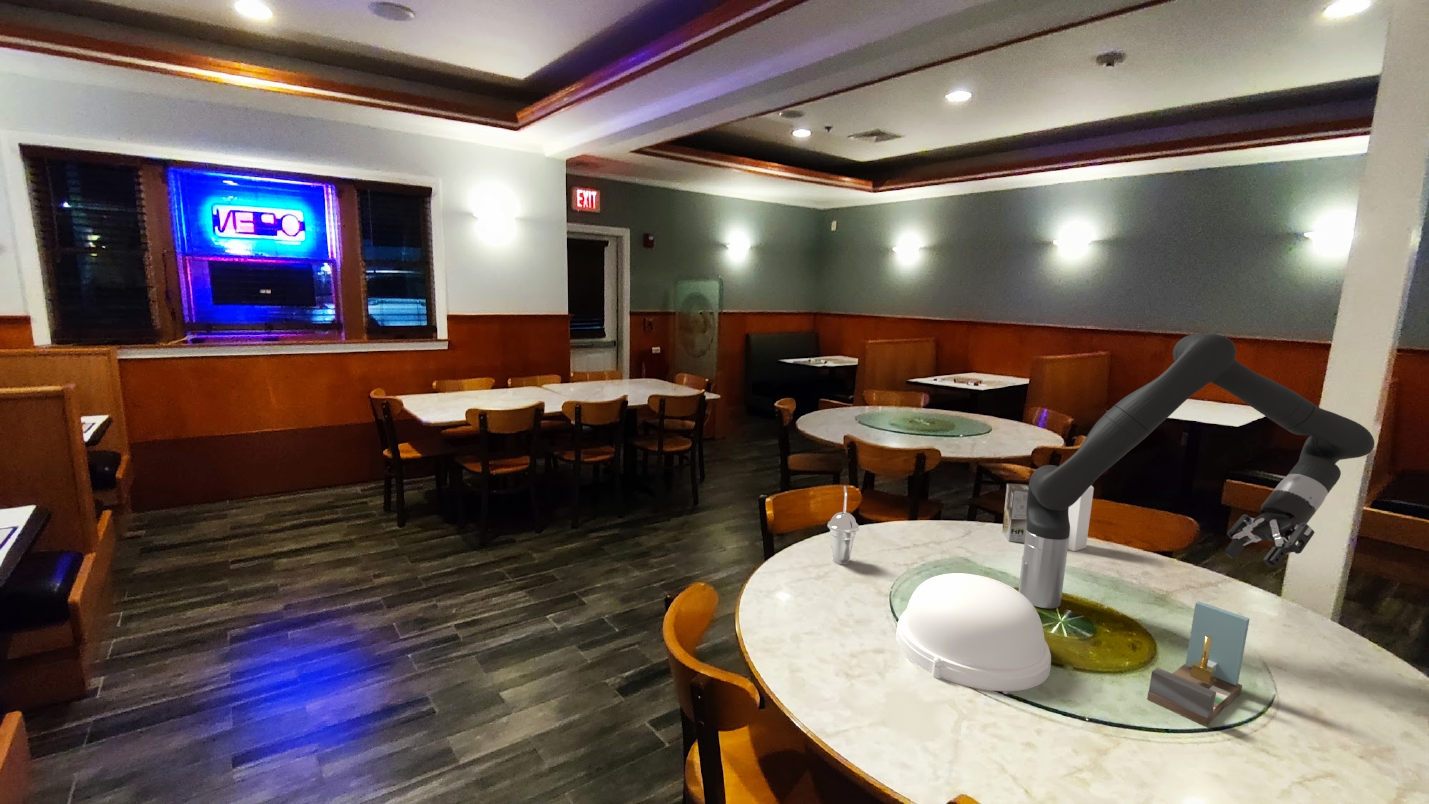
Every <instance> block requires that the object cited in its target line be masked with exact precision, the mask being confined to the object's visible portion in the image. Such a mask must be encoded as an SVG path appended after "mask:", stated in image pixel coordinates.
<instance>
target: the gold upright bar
mask: <svg viewBox="0 0 1429 804" xmlns="http://www.w3.org/2000/svg"><path fill="white" fill-rule="evenodd" d="M1211 641H1212V637H1211V636H1207V635H1206V636H1205V640H1204V646H1203V652H1202V658H1201V663H1199V662H1197V661H1196V662H1194V663H1193V664H1192V668H1191V674H1190V676H1191V677H1194V678H1196V679H1198V680H1201V681H1203V682H1206V683H1208V684H1210V683H1211V682H1212V681H1213V679H1214V673H1215V669H1214V668H1212V667H1209V666H1207V664H1208V658H1209V652H1210V646H1211Z"/></svg>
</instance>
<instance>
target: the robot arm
mask: <svg viewBox="0 0 1429 804" xmlns="http://www.w3.org/2000/svg"><path fill="white" fill-rule="evenodd" d="M1236 356H1237V348H1236V346H1235V344H1234V342H1233V341H1232V340H1231V339H1230V338H1229V337H1227V336H1225V335H1222V334H1217V333H1206V332H1205V333H1204V332H1203V333H1192V334H1189V335H1186V336H1184V337H1182V338H1181V339H1179V340H1178V341H1177V342H1176V344H1175V345H1174V347H1173V351H1172V358H1173V361H1174V362H1173V363H1172V364H1171V365H1170V366H1169V367H1168V368H1167V369H1166V370H1165V371H1163V372H1162V373H1161V374H1160V375H1159V376H1158V377H1156V378H1154V379H1153V380H1152V381H1150V382H1148V383H1146V384H1145V385H1143V386H1141V387H1139V388H1138V389H1136V390H1135V391H1133V392H1131V393H1130V394H1128V395H1126V396H1124V397H1123V398H1122V399H1120V400H1119V401H1118V402H1117V403H1115V404H1114V405H1113V406H1112V407H1111V408H1109V410H1108V411H1106V412H1105V413H1104V414H1103V415H1102V416H1101V417H1100V418H1099V419H1098V420H1097V422H1096V423H1095V424H1094V425H1093V426H1092V428H1091V429H1090V430H1089V432H1088V433H1087V435H1086V437H1085V438H1084V441H1083V442H1082V443H1081V445H1080V446H1079V448H1078V449H1076V450H1077V451H1076V452H1074V453H1073V454H1072V455H1071V456H1070V457H1069V458H1068V459H1066V460H1064V462H1063V463H1061V465H1059V466H1058V465H1053V464H1046V465H1042V466H1040V467H1038V468H1037V469H1035V470H1034V471H1033V472H1032V474H1031V476H1030V478H1029V482H1028V485H1029V487H1028V497H1027V509H1026V517H1027V527H1026V536H1025V543H1024V547H1023V554H1022V557H1021V567H1020V576H1019V585H1018V592H1020V593H1021V594H1022V595H1024V596H1025V597H1026V598H1027V599H1028V600H1029V601H1030V602H1031V603H1032V605H1033V606H1034V607H1038V608H1042V609H1056V608H1059V607H1060V606H1061V604H1062V597H1063V588H1064V580H1065V574H1066V573H1065V572H1066V565H1067V556H1068V550H1069V549H1068V543H1069V535H1070V523H1069V516H1068V510H1069V507H1070V506H1072V505H1073V504H1074V503H1075V502H1076V501H1077V500H1078V499H1079V498H1080V497H1081V496H1082V495H1083V494H1084V492H1085V491H1086V490H1087V489H1088V488H1089V487H1090V486H1093V484H1094V483H1095V481H1097V480H1098V479H1099V477H1101V476H1102V475H1103V474H1104V473H1105V472H1106V471H1107V470H1109V469H1110V468H1111V467H1113V466H1114V465H1115V464H1116V463H1117V462H1118V461H1120V459H1122V458H1123V457H1124V456H1126V455H1127V454H1128V453H1130V451H1131V450H1132V449H1134V448H1135V447H1136V446H1137V445H1139V444H1140V443H1141V442H1142V441H1144V440H1145V439H1146V438H1147V437H1148V436H1149V435H1150V434H1151V433H1153V431H1155V430H1156V429H1157V428H1158V427H1159V426H1160V425H1161V424H1162V423H1163V422H1164V421H1165V420H1166V419H1168V418H1169V417H1170V416H1171V415H1172V414H1173V413H1175V411H1176V410H1178V408H1179V407H1180V406H1182V404H1184V403H1185V402H1186V401H1187V400H1188V399H1190V397H1192V396H1193V395H1195V394H1196V393H1197V392H1198V391H1200V390H1202V389H1203V388H1204V387H1206V386H1207V385H1208V384H1210V383H1211V384H1213V385H1215V386H1216V387H1219V388H1221V389H1222V390H1224V391H1226V392H1228V393H1230V394H1231V395H1232V396H1235V398H1238V400H1241V401H1242V402H1244V403H1245V404H1247V405H1249V406H1250V407H1251V408H1253V409H1254V410H1255V411H1257V412H1259V413H1260V414H1261V415H1263V416H1264V417H1266V418H1267V419H1269V420H1271V421H1272V422H1274V423H1275V424H1277V425H1279V426H1280V427H1281V428H1283V429H1285V430H1286V431H1288V432H1290V433H1292V434H1294V435H1298V436H1309V437H1307V439H1306V440H1305V441H1304V445H1303V446H1302V450H1301V452H1300V455H1299V459H1298V462H1297V463H1296V464H1295V465H1294V466H1293V468H1292V469H1291V470H1290V471H1289V472H1288V474H1287V475H1285V477H1284V478H1283V479H1282V480H1281V481H1280V482H1279V483H1278V484H1277V485H1276V487H1275V488H1274V489H1273V490H1272V492H1271V493H1270V494H1269V496H1268V497H1267V498H1266V499H1265V500H1264V502H1263V503H1262V504H1261V507H1260V511H1261V512H1260V514H1259V515H1258V516H1257V517H1255V518H1254V517H1250V515H1248V514H1243V515H1241V516H1240V517H1239V519H1238V520H1236V522H1235V523H1234V524H1233V525H1232V527H1231V528H1230V529H1228V531H1227V533H1226V535H1227V536H1229V538H1230V539H1231V541H1230V543H1229V544H1228V546H1227V547H1226V548H1225V549H1224V550H1225V551H1224V553H1225V555H1226V556H1227V557H1228V558H1229V559H1233V560H1235V559H1237V557H1238V556H1239V555H1240V554H1241V552H1242V551H1243V550H1244V549H1245V546H1247V545H1249V544H1251V543H1258V542H1261V541H1271V542H1273V543H1275V546H1272V547H1271V549H1270V550H1269V551H1268V552H1267V554H1266V555H1265V556H1264V558H1263V559H1262V561H1263V563H1264V564H1265V565H1266V566H1267V567H1270V568H1275V567H1276V566H1278V565H1279V564H1280V563H1281V561H1282V560H1283V559H1284V557H1285V556H1287V555H1289V554H1291V553H1295V554H1298V555H1299V554H1301V553H1302V552H1303V551H1304V549H1305V547H1306V546H1307V544H1308V543H1309V542H1310V541H1311V539H1312V537H1313V536H1314V535H1315V533H1316V532H1315V531H1314V529H1313V528H1312V527H1311V526H1310V525H1308V523H1309V522H1310V520H1311V519H1312V518H1313V517H1314V515H1315V514H1316V512H1317V511H1318V510H1319V509H1320V507H1321V506H1322V505H1323V503H1324V502H1325V500H1326V497H1327V496H1328V494H1329V493H1330V492H1331V490H1332V489H1333V488H1334V487H1335V485H1336V484H1337V482H1338V481H1339V480H1340V478H1341V475H1342V473H1341V472H1342V471H1341V469H1340V468H1339V466H1338V465H1337V463H1338V462H1339V461H1340V460H1341V461H1342V460H1348V459H1349V460H1350V459H1356V458H1361V457H1365V456H1367V455H1368V454H1370V453H1371V452H1372V451H1373V450H1374V448H1375V439H1374V436H1373V434H1371V432H1370V431H1369V430H1368V429H1367V428H1366V427H1365V426H1364V425H1362V424H1360V423H1359V422H1357V421H1355V420H1353V419H1350V418H1349V417H1348V418H1347V417H1346V416H1343V415H1340V414H1338V413H1335V412H1332V411H1330V410H1327V409H1323V408H1322V407H1319V406H1318V405H1317V404H1314V403H1313V402H1312V401H1310V400H1308V398H1305V397H1303V395H1301V394H1298V393H1297V392H1296V391H1294V390H1292V389H1290V388H1288V387H1287V386H1285V385H1282V384H1280V383H1278V382H1276V381H1275V380H1272V379H1270V378H1268V377H1265V376H1263V375H1262V374H1259V373H1257V372H1255V371H1253V370H1252V369H1250V368H1248V367H1247V366H1245V365H1243V364H1242V363H1241V362H1239V361H1237V360H1236ZM1252 531H1253V532H1254V534H1253V533H1252ZM1244 537H1246V538H1244Z"/></svg>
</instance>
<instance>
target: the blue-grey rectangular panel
mask: <svg viewBox="0 0 1429 804" xmlns="http://www.w3.org/2000/svg"><path fill="white" fill-rule="evenodd" d="M1249 625H1250V618H1249V617H1246V616H1244V615H1241V614H1238V613H1235V612H1232V611H1229V610H1226V609H1222V608H1219V607H1218V606H1217V607H1216V606H1214V605H1212V604H1211V605H1210V604H1208V603H1205V602H1202V601H1197V602H1195V605H1194V612H1193V617H1192V623H1191V629H1190V635H1189V641H1188V646H1187V648H1188V649H1187V653H1186V659H1185V663H1186V665H1187V666H1190V667H1192V664H1193V663H1194V662H1196V661H1197V662H1199V663H1201V658H1202V652H1203V646H1204V640H1205V636H1206V635H1207V636H1211V637H1212V641H1211V646H1210V652H1209V658H1208V664H1207V666H1209V667H1212V668H1214V669H1215V673H1214V677H1216V678H1219V679H1221V680H1224V681H1226V682H1229V683H1231V684H1234V685H1236V684H1237V683H1238V684H1239V680H1240V674H1241V670H1242V663H1243V658H1244V653H1245V646H1246V641H1247V637H1248V631H1249V630H1248V629H1249Z"/></svg>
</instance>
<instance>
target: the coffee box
mask: <svg viewBox="0 0 1429 804" xmlns="http://www.w3.org/2000/svg"><path fill="white" fill-rule="evenodd" d="M1028 487H1029V484H1022V483H1006V490H1005V491H1006V492H1005V502H1004V511H1003V520H1002V531H1001V532H1002V533H1003V535H1004V536H1005V538H1006V539H1007V540H1008V542H1013V543H1014V542H1015V543H1022V544H1025V536H1026V527H1027V517H1026V509H1027V497H1028Z"/></svg>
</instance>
